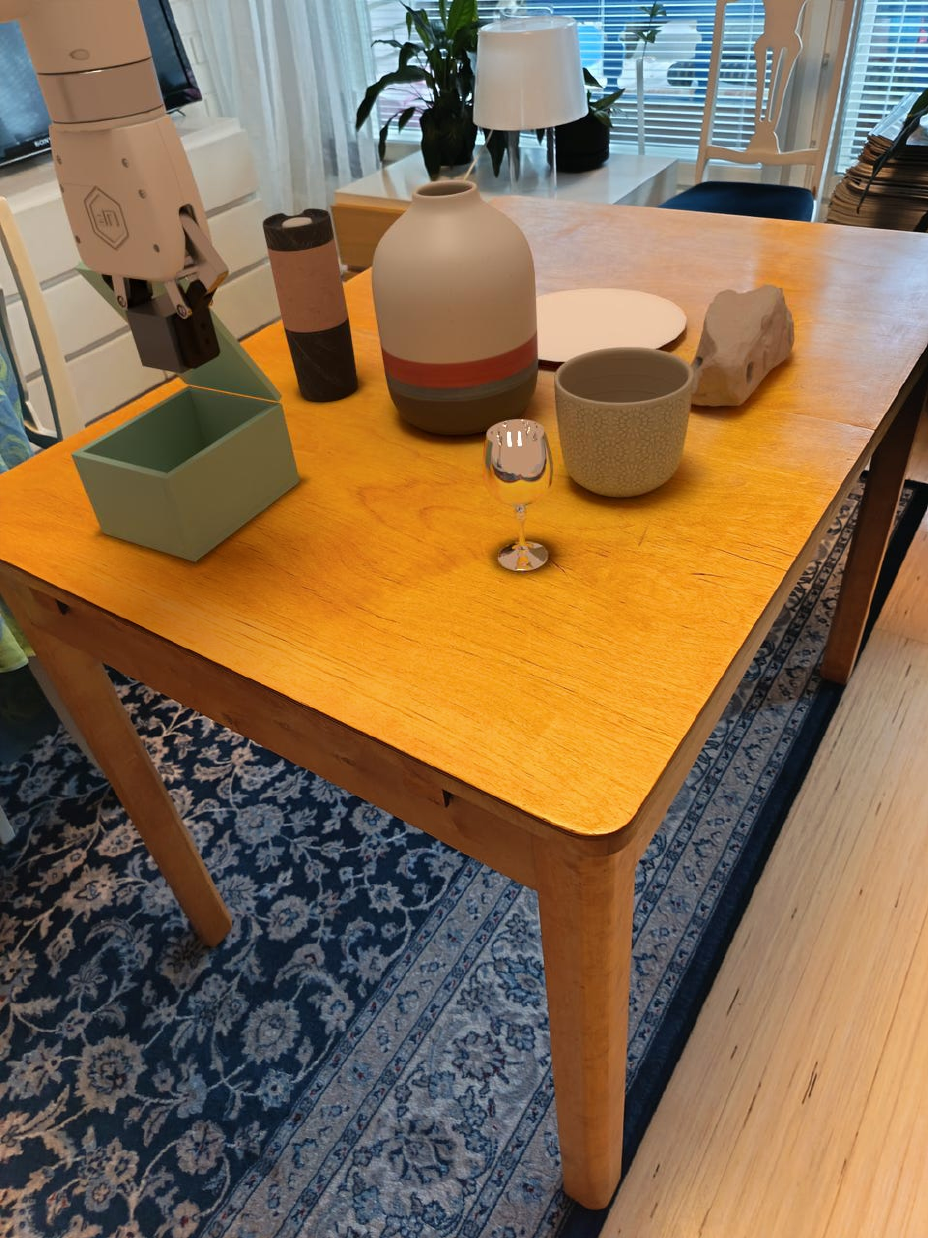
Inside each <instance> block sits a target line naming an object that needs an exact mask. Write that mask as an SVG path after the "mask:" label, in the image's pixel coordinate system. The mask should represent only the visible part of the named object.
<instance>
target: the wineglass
mask: <svg viewBox="0 0 928 1238" xmlns="http://www.w3.org/2000/svg"><path fill="white" fill-rule="evenodd" d="M483 445H484V446H483V452H482V467H481V468H482V469H481V470H482V478H483V482H484V486H485V488H486V491H487V492H488V494H489V495H490V496H491V497H492V498H493V499H494V500H495V501H496V502H497V503H499V504H502V505H505V506H508V507H514V511H513V514H514V517H515V519H516V523H517V527H518V541H516V542H512V543H509V544H507V545H505V546H504V547H502V548H501V549H500V550H499V552H498V554H497V561H498V564H499V565H501V566H502V567H503V568H504V569H507V570H510V571H514V572H515V571H516V572H528V571H533V570H536V569H538V568H540V567H542V566H543V565H544V564H545V563H546V562H547V561H548V559H549V551H548V549H547V548H546V546H544V545H542V544H540V543H538V542H534V541H526V538H525V521H526V517H527V507H526V506H530V505H533V504H535V503H537V502H539V501H540V500H542V498H544V496H545V495H546V494H547V493H548V492H549V490H550V488H551V485H552V481H553V476H554V463H553V455H552V451H551V446H550V443H549V439H548V435H547V433H546V430H545V428H544V426H543V425H542V424H540V422H536V421H534V420H531V419H523V418H522V419H521V418H515V419H514V420H507V421H503V422H500V423H497V424H495V425H494V426H492V427H491V428H490V429H489V430H488V431H486V435H485V439H484V444H483Z"/></svg>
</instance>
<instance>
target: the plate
mask: <svg viewBox="0 0 928 1238" xmlns="http://www.w3.org/2000/svg"><path fill="white" fill-rule="evenodd" d="M536 310H537V337H538V362H543V363H551V364H558V365H559V364H561V365H562V364H564V363H565V362H567V361H568V360H570V359H572V358H574V357H576V356H578V355H581V354H584V353H587V352H591V351H595V350H600V349H607V348H616V347H641V348H650V349H656V350H660V349H662V348H663V347H665V346H667V345H669V344H672V343H673V342H674V341H676V340H677V339H678V338H679V336H680V335H681V334H683V333H684V331H685V330H686V327H687V321H688V318H687V317H686V314H685V312H684V311H683V309H682V308H681V307H679V306H678V305H676V304H675V303H674V302H673V301H671V300H669V299H667V298H665V297H662V296H659V295H657V294H653V293H648V292H645V291H644V292H643V291H639V290H634V289H625V288H624V289H623V288H615V287H613V288H612V287H608V288H607V287H603V288H601V287H592V288H591V287H588V288H578V289H567V290H561V291H556V292H550V293H545V294H541V295H538V296H536Z"/></svg>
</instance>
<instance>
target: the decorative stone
mask: <svg viewBox="0 0 928 1238" xmlns="http://www.w3.org/2000/svg"><path fill="white" fill-rule="evenodd" d="M783 292H784V289H783V287H777V286H776V285H775V284H764V285H762V286H760V287H757V288H755V289H753V290H747V291H746V292H740V293H739V292H737V291H736V290H733V289H729V288H728V289H724V290H721V291H719V292H718V293H717V294H716V295H715V296H714V298H713V300H712V302H710V303H709V305H708V307H707V309H706V312H705V315H704V320H703V324H702V330H701V334H700V338H699V342H698V345H697V349H696V353H695V355H694V358H693V360H692V362H691V363H690V366H691V367H692V369H693V372H694V380H693V392H692V400H691V405H696V406H710V407H722V406H723V407H724V406H728V407H739V406H741V405H743V404H744V403H745V402H746V401H747V400H748V398H750V396H751V395H752V394H753V393H754V392H755V391H756V390H757V388H758V387H759V385H760V383H761V382H762V381H763V380H764V379H765V378H766V376H767V375H768V374H769V373H770V371H772V370H773V369H775V367H778V366H779V365H781V364H782V363H783V362H784V361H785V360H786V359H787V358H788V357H789V356H790V354H791V353H792V350H793V348H794V347H793V346H794V344H795V323H794V319H793V316H792V315H793V314H792V312H791V311H790V309H789V308H788V306H787V303H786V297H785V295H784V293H783Z"/></svg>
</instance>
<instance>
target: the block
mask: <svg viewBox="0 0 928 1238" xmlns="http://www.w3.org/2000/svg"><path fill="white" fill-rule="evenodd" d="M208 308H209V307H208ZM209 312H210V309H209ZM125 313H126V316H127V319H128V322H129V324H128V325H129V328H130V332H131V335H132V338H133V341H134V343H135V347H136V350H137V353H138V357H139V359H140V362H141V366H142V367H145V368H150V369H155V370H160V371H165V372H169V373H170V372H171V373H174V374H176V373H180V374H182V373H184V372H186V371H188V370H190V369H191V368H188V367H187V365H186V362H185V359H184V355H183V352H182V348H181V345H180V342H179V338H178V335H177V331H176V328H175V325H174V321H173V318H175V317H177V316H179V315H178V314H177V312H176V310H175V308H174V305H173V303H172V301H171V299H170V296H169V294H168V292H166V293H164V294H162V295H160V296H157V297H155V298H153V299H151V300H149V301H147V302H144V303H142V304H140V305H138V306H136V307H134V308H131V309H129V310H127V311H125ZM210 315H211V313H210ZM211 319H212V317H211ZM212 323H213V321H212ZM213 327H214V324H213ZM214 330H215V328H214ZM215 334H216V332H215ZM216 338H217V336H216ZM217 342H218V340H217ZM218 345H219V343H218ZM219 349H220V347H219ZM220 353H221V351H220Z"/></svg>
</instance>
